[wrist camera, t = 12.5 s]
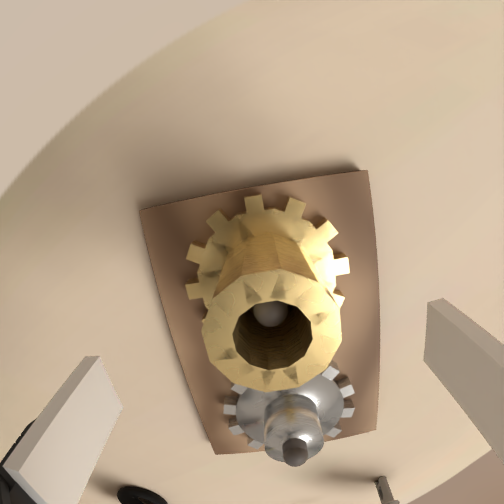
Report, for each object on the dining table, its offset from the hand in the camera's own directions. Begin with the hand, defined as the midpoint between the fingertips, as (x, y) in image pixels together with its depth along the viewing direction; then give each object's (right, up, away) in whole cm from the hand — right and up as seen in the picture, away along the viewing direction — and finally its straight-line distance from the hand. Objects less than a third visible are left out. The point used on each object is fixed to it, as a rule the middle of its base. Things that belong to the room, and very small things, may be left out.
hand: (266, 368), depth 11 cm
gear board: (+2, -3, +14) cm, 14 cm away
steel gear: (+3, -9, +14) cm, 16 cm away
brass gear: (+1, +3, +11) cm, 11 cm away
